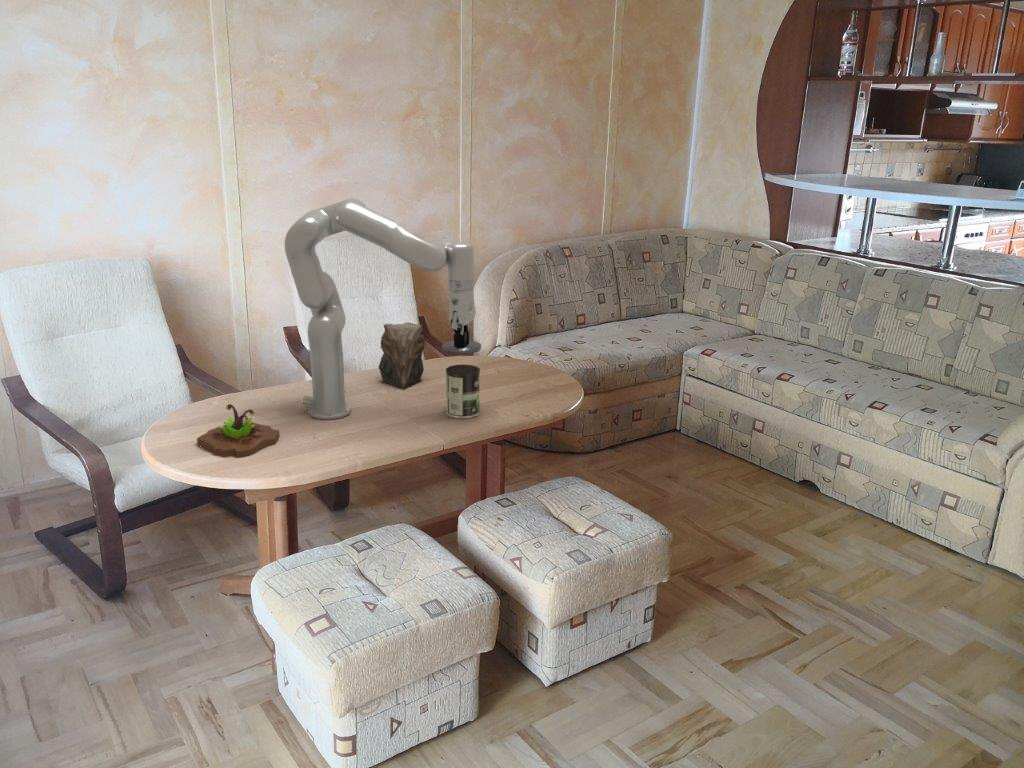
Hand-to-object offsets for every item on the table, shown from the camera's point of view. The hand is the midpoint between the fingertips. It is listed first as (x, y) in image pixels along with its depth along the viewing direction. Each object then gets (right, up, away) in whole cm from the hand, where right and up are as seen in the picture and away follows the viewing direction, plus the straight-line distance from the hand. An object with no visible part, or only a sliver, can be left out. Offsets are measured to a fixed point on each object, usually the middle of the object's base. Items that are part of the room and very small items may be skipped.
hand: (461, 344), depth 253 cm
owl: (-22, -12, +32) cm, 41 cm away
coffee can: (0, -21, +7) cm, 22 cm away
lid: (0, -1, 0) cm, 1 cm away
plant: (-61, -28, -18) cm, 70 cm away
